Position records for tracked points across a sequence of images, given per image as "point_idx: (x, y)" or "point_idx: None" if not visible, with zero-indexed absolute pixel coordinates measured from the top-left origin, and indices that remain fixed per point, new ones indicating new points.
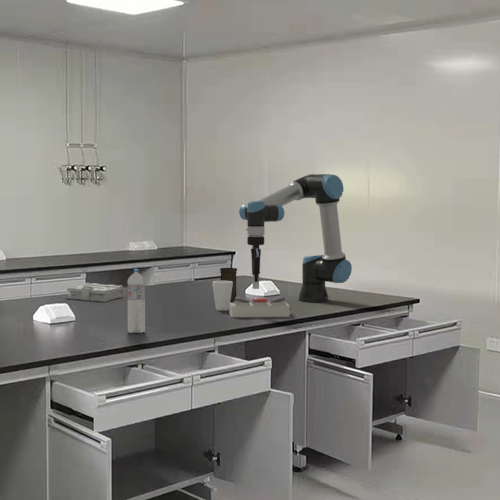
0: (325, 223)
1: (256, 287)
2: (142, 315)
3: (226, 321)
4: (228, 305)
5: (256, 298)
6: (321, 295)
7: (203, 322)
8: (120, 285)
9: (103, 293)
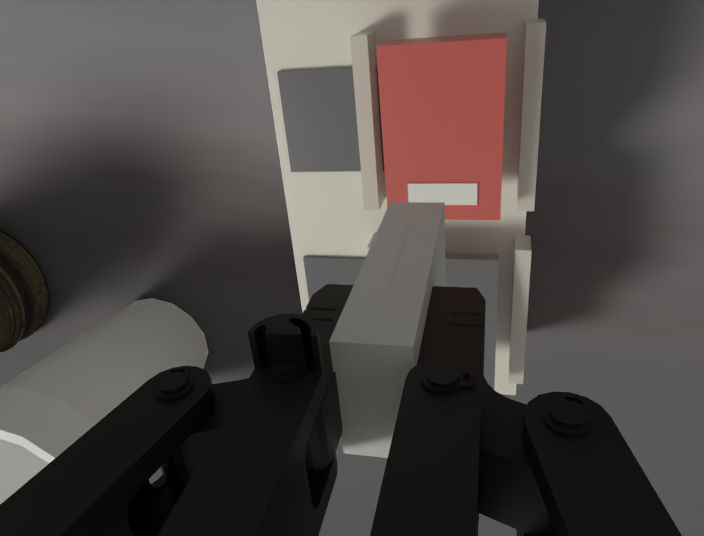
0: None
1: (442, 250)
2: None
3: (698, 395)
4: (166, 326)
5: (412, 177)
6: None
7: (697, 528)
8: None
9: None
